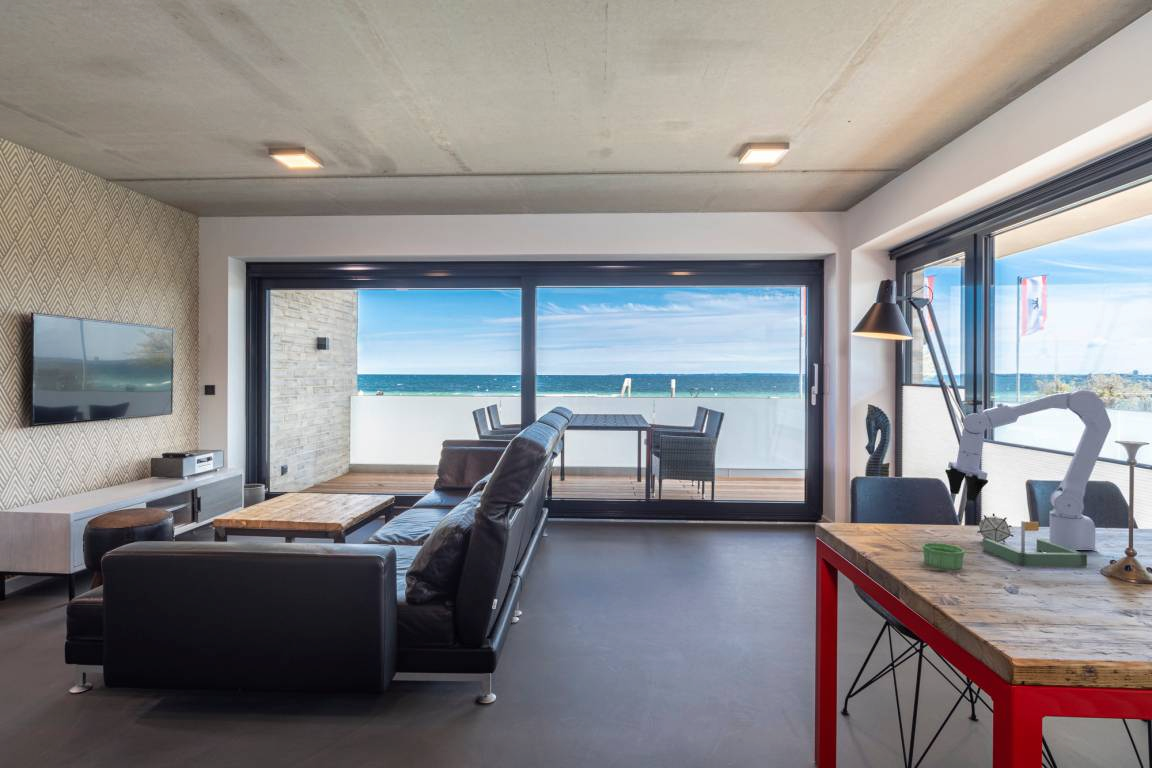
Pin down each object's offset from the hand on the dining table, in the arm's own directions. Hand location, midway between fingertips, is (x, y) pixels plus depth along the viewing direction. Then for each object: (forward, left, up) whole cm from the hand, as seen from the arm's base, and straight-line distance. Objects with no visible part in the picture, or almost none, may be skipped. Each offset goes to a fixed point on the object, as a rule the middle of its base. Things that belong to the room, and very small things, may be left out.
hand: (962, 496), depth 174 cm
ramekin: (+24, +29, -12) cm, 40 cm away
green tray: (-3, +23, -11) cm, 26 cm away
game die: (-3, +9, -12) cm, 15 cm away
